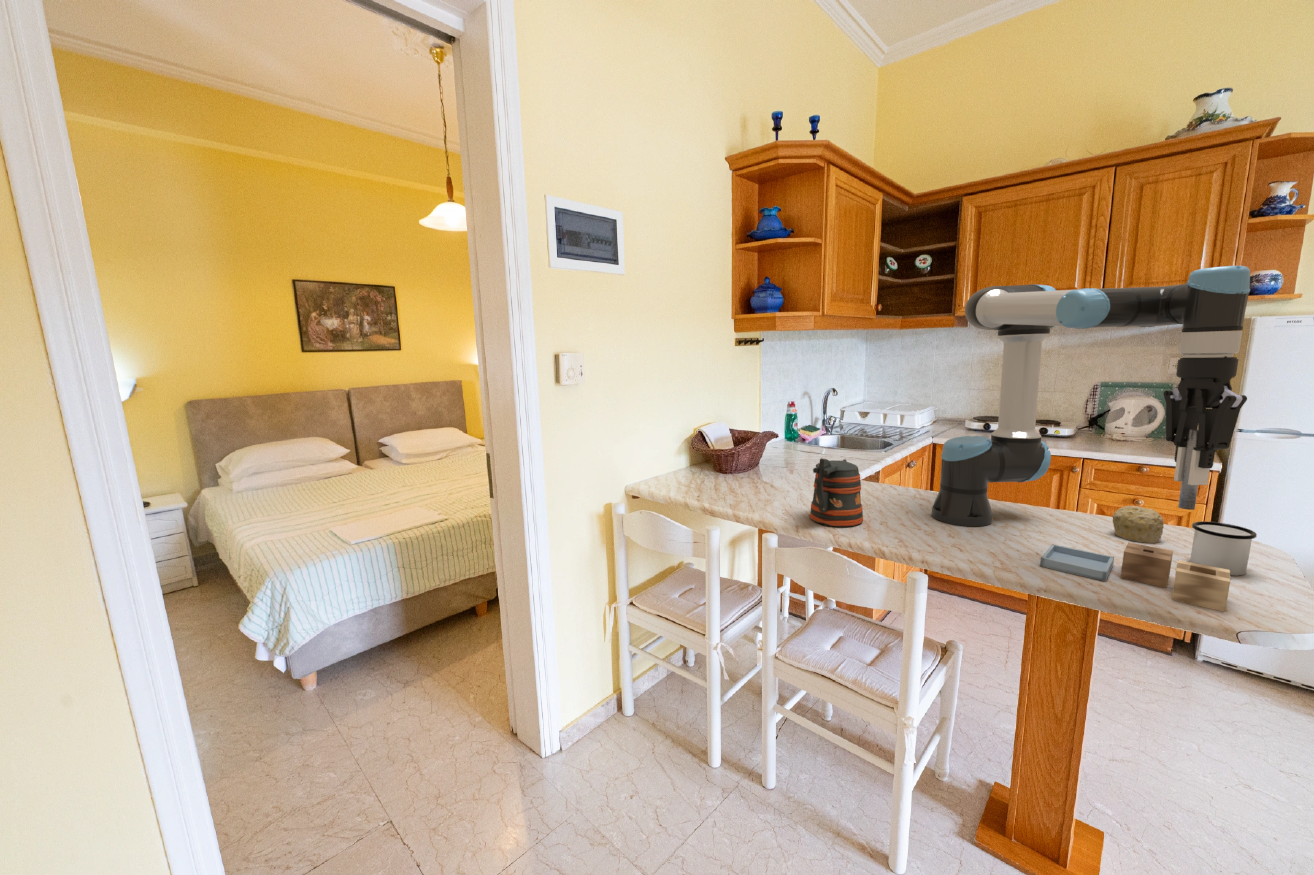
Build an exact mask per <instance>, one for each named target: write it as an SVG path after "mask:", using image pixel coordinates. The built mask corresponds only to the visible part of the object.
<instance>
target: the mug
mask: <svg viewBox="0 0 1314 875" xmlns="http://www.w3.org/2000/svg"><path fill="white" fill-rule="evenodd" d="M1191 528H1193V529H1194V534H1193V539H1192V545H1191V546H1192V547H1191V552H1190V558H1189V562H1192V563H1197V564H1202V565H1207V566H1212V567H1217V568H1222V569H1227V570H1230V576H1233V577H1234V576H1236V577H1237V576H1242V575H1246V574H1247V568H1248V564H1249V559H1250V553H1251V552H1250V551H1251V546H1252V540H1254V539H1256V538H1257V536H1258V534H1257V533H1256V532H1255V531H1253V530H1251V529H1249V528H1246V527H1243V526H1239V525H1235V524H1231V523H1225V522H1216V521H1195V522H1192V525H1191Z"/></svg>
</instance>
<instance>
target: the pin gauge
mask: <svg viewBox="0 0 1314 875" xmlns="http://www.w3.org/2000/svg"><path fill="white" fill-rule="evenodd" d="M1193 447H1198V428H1197V429H1189V431H1188V439H1187V446H1186V453H1185V461H1184V468H1183V475H1182V481H1181V482H1180V492H1179V498H1178V506H1177V507H1178V509H1182V510H1188V511H1194V510H1195V509H1196V505H1197V504H1196V502H1197V495H1198V487H1199V485H1190V484H1188V480H1189V472H1190V465H1191V458H1192V451H1193V450H1194V448H1193Z"/></svg>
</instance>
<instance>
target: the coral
mask: <svg viewBox="0 0 1314 875" xmlns="http://www.w3.org/2000/svg"><path fill="white" fill-rule="evenodd" d="M1112 524H1113V528H1114V532H1115V535H1116V536H1117V537H1120V538H1122V539H1124V540H1129V541H1132V542H1137V543H1145V544H1156V543H1159V542H1160V540H1161V539H1162V535H1163V533H1164V529H1165V528H1164V525H1165V524H1164V518H1163V516H1162V515H1161V514H1160V513H1159V512H1157V511H1156V510H1155V509H1152V508H1146V507H1141V506H1139V505H1138V506H1137V505H1128V506H1127V505H1125V506H1122V507H1119V508H1118V509H1116V510H1115V511H1114V513H1113V514H1112Z"/></svg>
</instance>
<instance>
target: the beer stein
mask: <svg viewBox="0 0 1314 875" xmlns="http://www.w3.org/2000/svg"><path fill="white" fill-rule="evenodd" d="M812 472H813V473H814V474H815V476H814V477H815V478H814V482H813V496H812V501H811V503H810V513H809V518H810V519H811V520H812V521H813V522H815V523H818V524H821V525H825V526H831V527H843V528H849V527H853V526H858V525H860V524H862V522H863V521H864V517H863V516H864V515H863V513H864V512H863V509H864V508H863V504H862V499H861V490H862V483H861V473H860V472H859V466H858V465H856V464H855V463H851V462H848V461H847V459H846V458H844V459H843V460H829V459H826V458H820V459H819V462H818V463H817V464H816V465H815V467H813V469H812Z"/></svg>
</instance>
